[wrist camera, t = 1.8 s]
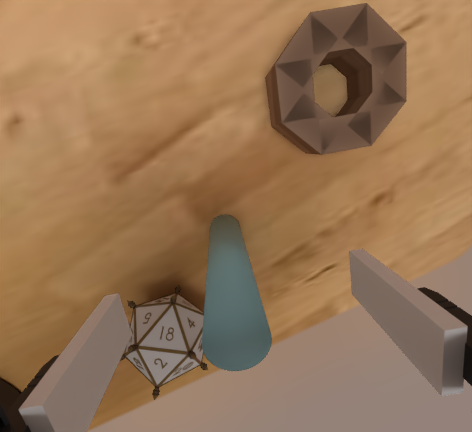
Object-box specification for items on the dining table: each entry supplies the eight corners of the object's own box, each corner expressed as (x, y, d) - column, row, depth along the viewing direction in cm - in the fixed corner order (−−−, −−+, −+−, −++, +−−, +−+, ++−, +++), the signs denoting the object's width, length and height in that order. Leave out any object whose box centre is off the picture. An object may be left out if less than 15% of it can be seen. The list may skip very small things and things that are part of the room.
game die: (190, 281, 32) (245, 303, 24) (177, 355, 31) (230, 402, 23) (113, 276, 27) (152, 302, 19) (94, 366, 26) (126, 433, 18)
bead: (275, 158, 25) (286, 160, 22) (260, 40, 23) (269, 19, 19) (377, 140, 26) (406, 139, 22) (374, 21, 23) (406, -4, 19)
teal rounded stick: (213, 245, 27) (209, 376, 12) (207, 217, 26) (195, 319, 11) (242, 240, 27) (275, 363, 12) (237, 212, 27) (266, 305, 11)
